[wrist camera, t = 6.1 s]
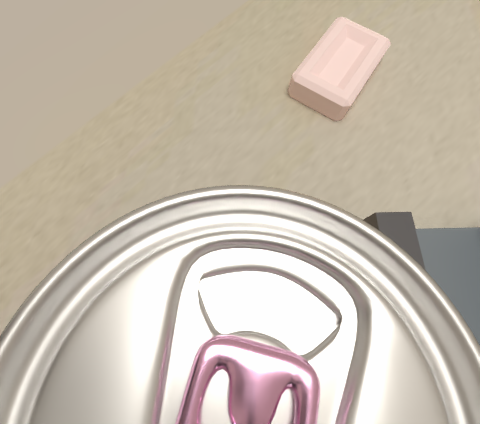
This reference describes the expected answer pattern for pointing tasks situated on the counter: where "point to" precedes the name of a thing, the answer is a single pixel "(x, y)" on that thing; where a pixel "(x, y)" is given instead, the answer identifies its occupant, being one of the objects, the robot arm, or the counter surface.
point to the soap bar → (338, 68)
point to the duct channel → (441, 259)
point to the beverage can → (239, 322)
